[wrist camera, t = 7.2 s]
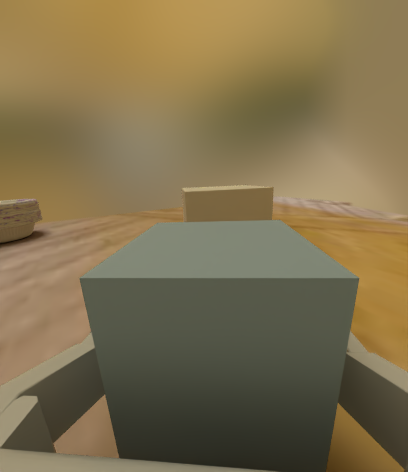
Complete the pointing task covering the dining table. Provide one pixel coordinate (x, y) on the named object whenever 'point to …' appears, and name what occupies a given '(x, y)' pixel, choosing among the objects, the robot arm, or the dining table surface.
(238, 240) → the blue pillar
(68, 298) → the dining table surface
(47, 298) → the dining table surface
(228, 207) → the tower top
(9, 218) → the paper bowls
